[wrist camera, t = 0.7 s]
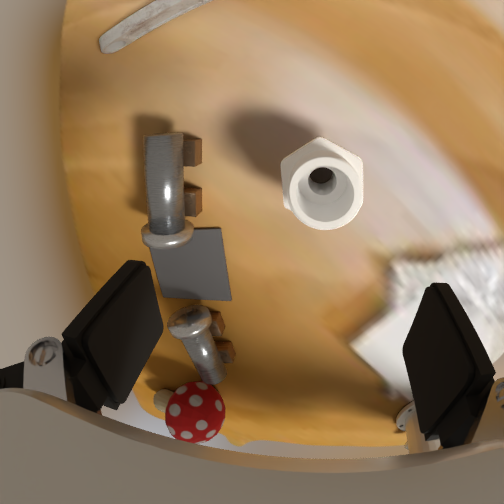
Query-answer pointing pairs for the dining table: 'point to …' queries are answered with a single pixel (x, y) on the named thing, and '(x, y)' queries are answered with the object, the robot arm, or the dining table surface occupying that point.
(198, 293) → the seat pad
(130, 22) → the wrench
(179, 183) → the shaft
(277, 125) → the dining table surface
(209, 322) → the shaft
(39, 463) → the robot arm
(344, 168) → the pipe fitting
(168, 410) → the decorative mushroom
